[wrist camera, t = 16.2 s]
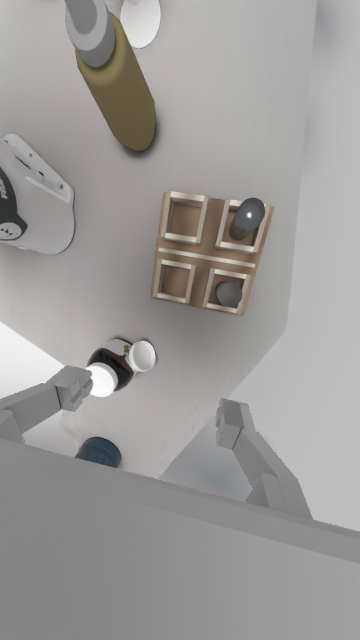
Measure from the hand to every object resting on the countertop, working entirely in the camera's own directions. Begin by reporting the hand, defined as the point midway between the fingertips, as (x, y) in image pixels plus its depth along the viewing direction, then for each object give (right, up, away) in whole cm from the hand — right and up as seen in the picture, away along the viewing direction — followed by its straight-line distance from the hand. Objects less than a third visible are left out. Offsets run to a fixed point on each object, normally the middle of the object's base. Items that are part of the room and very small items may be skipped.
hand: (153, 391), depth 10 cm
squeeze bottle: (-6, +38, +20) cm, 44 cm away
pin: (+12, +21, +21) cm, 32 cm away
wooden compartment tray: (+7, +17, +24) cm, 30 cm away
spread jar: (-10, -4, +33) cm, 34 cm away
